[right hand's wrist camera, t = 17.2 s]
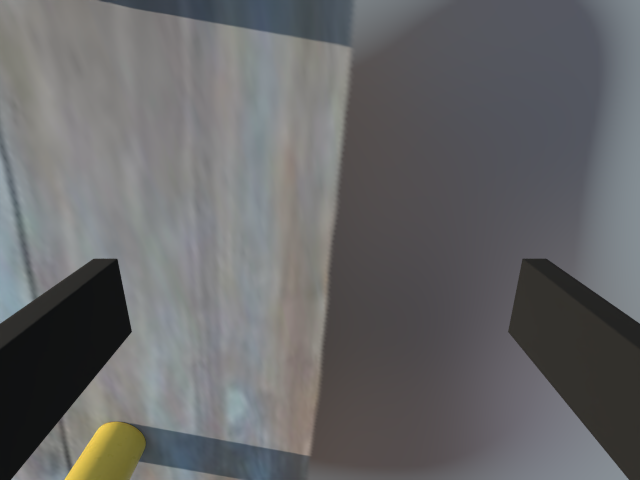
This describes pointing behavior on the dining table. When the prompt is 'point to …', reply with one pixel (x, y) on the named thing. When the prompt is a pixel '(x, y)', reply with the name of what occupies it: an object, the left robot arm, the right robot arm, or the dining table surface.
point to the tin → (110, 454)
